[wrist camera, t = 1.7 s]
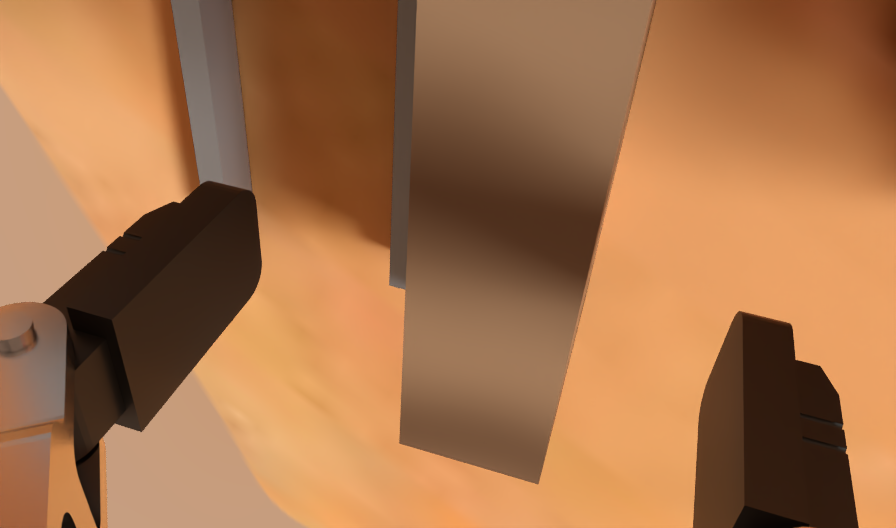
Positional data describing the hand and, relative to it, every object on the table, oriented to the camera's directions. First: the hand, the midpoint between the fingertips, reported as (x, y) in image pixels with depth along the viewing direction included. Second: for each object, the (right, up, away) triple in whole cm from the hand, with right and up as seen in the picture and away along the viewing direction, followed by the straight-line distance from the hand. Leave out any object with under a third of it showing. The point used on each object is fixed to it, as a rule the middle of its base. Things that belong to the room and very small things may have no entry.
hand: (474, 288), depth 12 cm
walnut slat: (+3, +5, +6) cm, 9 cm away
